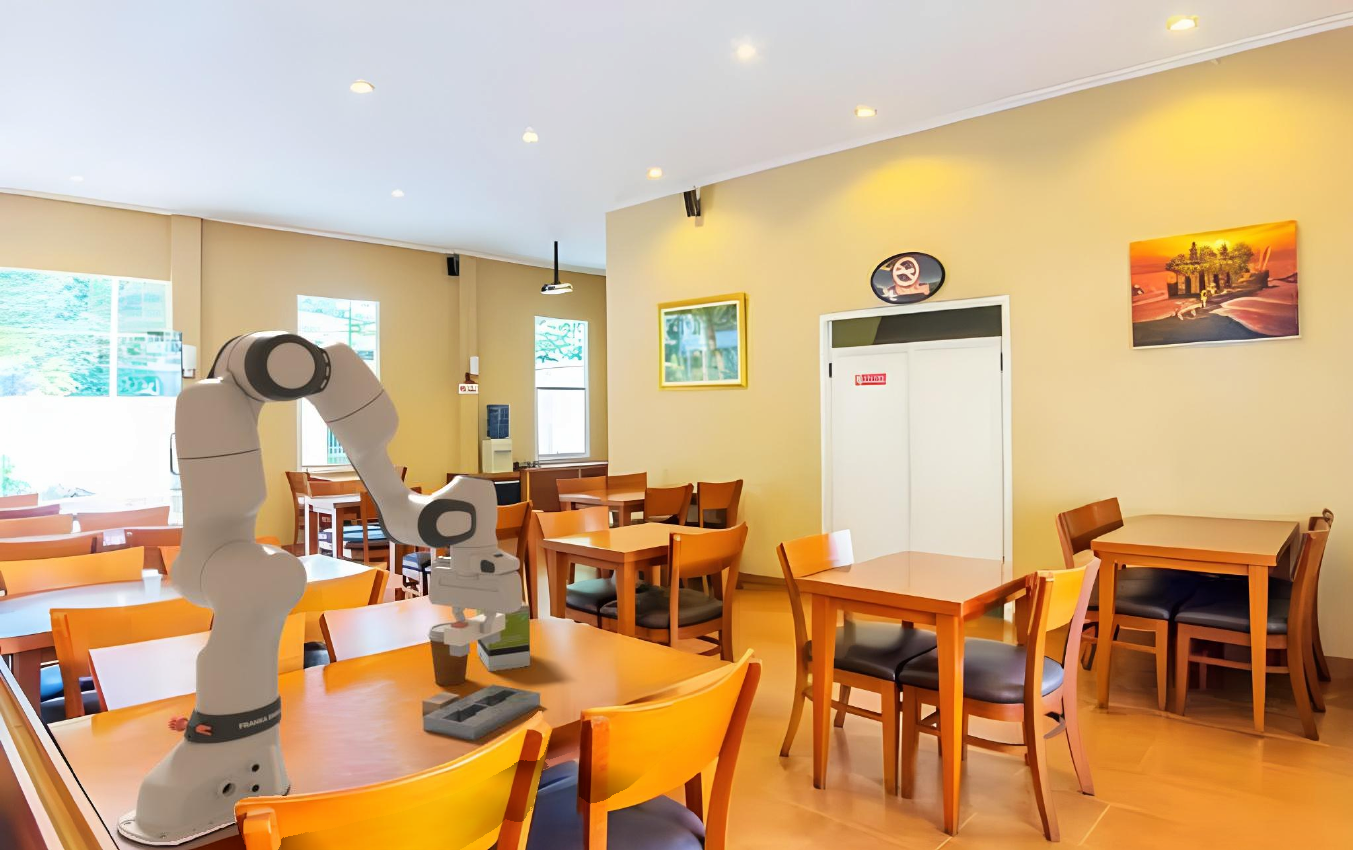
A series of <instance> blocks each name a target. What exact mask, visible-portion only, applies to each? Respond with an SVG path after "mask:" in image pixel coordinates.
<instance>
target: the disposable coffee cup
mask: <svg viewBox="0 0 1353 850" xmlns="http://www.w3.org/2000/svg"><path fill="white" fill-rule="evenodd" d="M454 622H455V621H453V622H452V621H450V622H441V623H437V624H435V625H432V626H430V627H429V631H428V633H427V636H428V638H429V641H430V648H431V655H432V656H431V657H432V664H433V665H432V666H433V672H434V680H435V684H437V685H439V686H455V685H460V684H462V683H464V682H465V680H466V673H467V665H468V659H469V654H466V655H464V656H461V657H459V656H453V655H450V645H448V644H444V628H445V627H447V626H450V625H451V624H452V623H454Z"/></svg>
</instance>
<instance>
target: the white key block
mask: <svg viewBox="0 0 1353 850" xmlns="http://www.w3.org/2000/svg"><path fill="white" fill-rule="evenodd" d="M485 619H486V616H484V614H481V615H479V616H477V615H476V616H473V617H471V618H468V619H467V618H466V620H464V621H462V622H461V621H453V622H454V623H452V624H451V625H450V626H447V627H445V628H444V644H448V645H450V655H453V656H459V657H461V656H464V655H466V654H468V655H469V654H470V653H471V643H474V642H477V640H479V639H481V642H482V643H489V644H493V643H495V642H498V641H500V631H501V630H504V629H505V614H502V613H497V615H496V617H495V619H494V621H493V622H492V631H491V633H489V634H482V633H480V624H483V623H484V621H485Z"/></svg>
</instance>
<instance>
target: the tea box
mask: <svg viewBox="0 0 1353 850" xmlns="http://www.w3.org/2000/svg"><path fill="white" fill-rule="evenodd" d="M497 613H498V612H497ZM481 614H484V611H483V610H476V616H479V615H481ZM502 614H505V629H504V630H501V631H500V641H498V642H495V643H493V644H489V643H482V642H481V639H479V640H476V645H477V646H476V649H477V651H476V652H477V655H478V657H479V659H480V660H481V661H482V663H483V664H484V665H485V667H486V669H487V670H488V671H492V672H496V671H495V670H500V671H505V669H507V670H513V669H512V668H514V669H519V668H520V667H521V668H526V667H525V666H527V667H530V666H531V646H530V645H531V643H530V642H531V636H530V635H531V633H530V632H531V631H530V630H531V629H530V623H531V622H530V605H529V604H527V603H526V602H525V600H523V599H522V606H521V607H520V609H519V610H518V611H516V612H513V613H509V614H506V613H502Z"/></svg>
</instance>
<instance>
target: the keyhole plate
mask: <svg viewBox="0 0 1353 850" xmlns="http://www.w3.org/2000/svg"><path fill="white" fill-rule="evenodd" d="M538 705H540V706H541V693H540V692H538V691H537V692H536V691H532V690H531V691H530V690H525V689H519V688H514V687H509V686H503V685H498V684H491V685H489V686H486V687H484V688H483V689H480V690H477V691H476V692H474V693H471V694H469V695H466V696H465V697H463V698H460V700H458V701H456V702H454V703H451V704H449V705H447V706H445V707H443V708H441V709H438V710H436V711H434V712H432V713H430V714H428V715H425V716H423V715H422V717H423V718H422V719H423V723H422V724H423V725H422V726H423V731H426V732H427V731H428V732H432V733H437V734H441V735H446V736H451V737H454V738H455V737H456V738H458V739H459V738H460V739H463V740H467V741H473V742H475V741H477V740H479V739H480V737H481V738H482V737H484V736H485V734H486V735H488V734H489V732H490V733H491V731H492V732H494V731H495V730H497V729H499V728H500V727H503V726H505V725H506V724H508V723H510V722H513V721H514V720H515V719H517V717H518V718H519V717H521V716H523V715H526V713H528V712H531V711H533V710H534V709H536V708H538V707H539V706H538ZM537 706H538V707H537ZM535 707H536V708H535ZM513 719H514V720H513ZM509 721H510V722H509ZM502 725H503V726H502ZM498 727H499V728H498ZM487 733H488V734H487ZM478 738H479V739H478ZM476 739H477V740H476Z"/></svg>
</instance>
